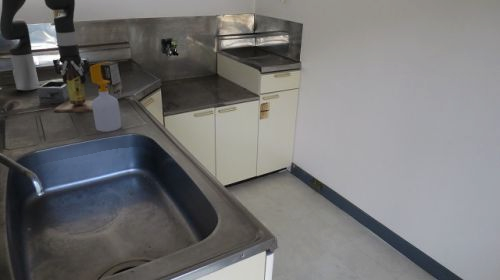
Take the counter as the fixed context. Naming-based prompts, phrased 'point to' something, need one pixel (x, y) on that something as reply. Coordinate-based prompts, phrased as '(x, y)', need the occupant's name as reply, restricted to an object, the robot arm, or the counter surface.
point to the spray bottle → (104, 104)
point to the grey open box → (53, 92)
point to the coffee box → (112, 78)
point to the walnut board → (74, 107)
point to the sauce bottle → (74, 84)
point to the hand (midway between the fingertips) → (74, 83)
